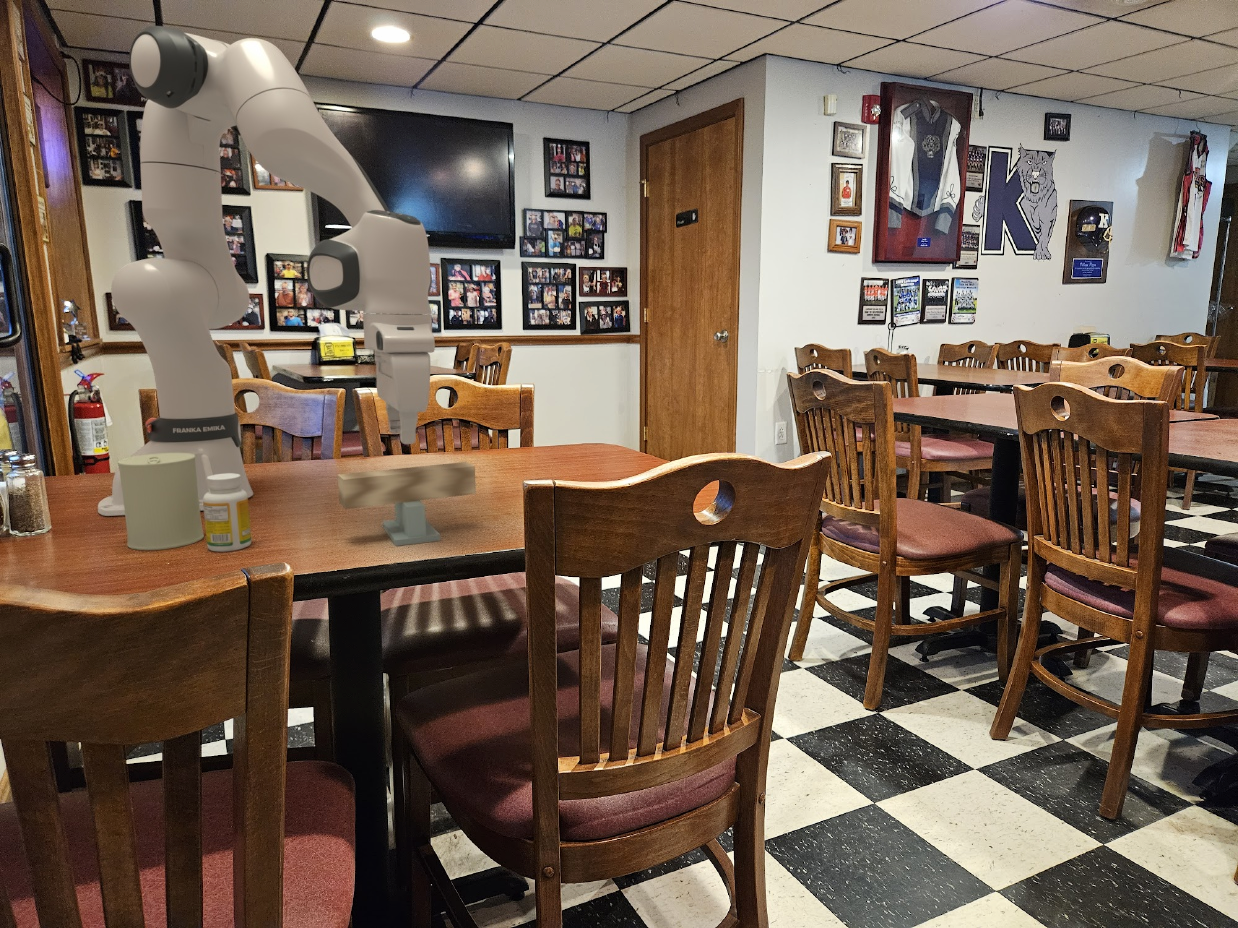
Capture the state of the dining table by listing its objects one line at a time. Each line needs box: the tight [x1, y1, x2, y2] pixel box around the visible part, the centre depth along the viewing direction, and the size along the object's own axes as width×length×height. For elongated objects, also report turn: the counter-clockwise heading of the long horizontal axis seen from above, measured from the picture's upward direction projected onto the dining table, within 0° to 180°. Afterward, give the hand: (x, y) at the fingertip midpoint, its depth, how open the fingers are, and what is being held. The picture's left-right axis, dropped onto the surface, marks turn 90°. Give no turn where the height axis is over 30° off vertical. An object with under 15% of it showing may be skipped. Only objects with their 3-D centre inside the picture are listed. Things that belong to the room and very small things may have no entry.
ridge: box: [382, 500, 441, 547], centre depth 113 cm, size 6×11×5 cm, turn 25°
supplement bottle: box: [203, 473, 252, 553], centre depth 107 cm, size 5×5×10 cm
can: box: [117, 453, 205, 551], centre depth 110 cm, size 9×9×12 cm
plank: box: [337, 461, 477, 510], centre depth 112 cm, size 18×4×4 cm, turn 120°
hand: (401, 438), depth 111 cm, fingers open, 8 cm apart
